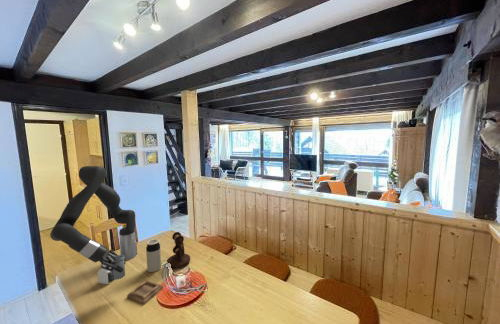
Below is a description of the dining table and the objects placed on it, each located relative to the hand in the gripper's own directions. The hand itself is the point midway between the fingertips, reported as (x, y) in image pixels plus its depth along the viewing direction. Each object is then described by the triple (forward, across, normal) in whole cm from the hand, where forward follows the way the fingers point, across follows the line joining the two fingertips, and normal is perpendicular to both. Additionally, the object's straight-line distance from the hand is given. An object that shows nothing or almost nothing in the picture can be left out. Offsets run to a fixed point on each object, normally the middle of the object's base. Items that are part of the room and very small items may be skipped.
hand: (123, 267), depth 109 cm
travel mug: (+20, +18, +1) cm, 27 cm away
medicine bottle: (+3, +16, +18) cm, 25 cm away
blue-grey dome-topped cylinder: (+2, 0, +4) cm, 5 cm away
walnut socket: (+17, -4, +3) cm, 18 cm away
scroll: (+31, +19, -9) cm, 37 cm away
